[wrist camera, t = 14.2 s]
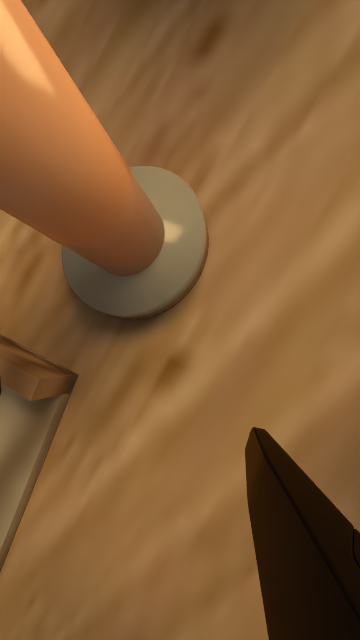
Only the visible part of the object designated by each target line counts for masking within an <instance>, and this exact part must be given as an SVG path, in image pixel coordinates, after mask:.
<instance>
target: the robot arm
mask: <svg viewBox="0 0 360 640" xmlns="http://www.w3.org/2000/svg"><path fill="white" fill-rule="evenodd" d="M0 395H1V376H0ZM245 461H246V481H247V499H248V508H249V515H250V521H251V528H252V534H253V540H254V547H255V553H256V560H257V566H258V573H259V579H260V586H261V592H262V599H263V605H264V611H265V618H266V624H267V631H268V637H269V640H360V533H359V531H358V530H357V529H354V527H353V525H352V524H351V523H350V522H349V521H348V520H347V518H346V517H345V516H344V515H343V514H342V513H341V512H340V511H339V510H338V509H337V508H336V506H335V505H334V504H333V503H332V502H331V501H330V500H329V499H328V498H327V497H326V496H325V494H324V493H323V492H322V491H321V490H320V489H319V488H318V487H317V486H316V485H315V484H314V482H313V481H312V480H311V479H310V478H309V477H308V476H307V475H306V474H305V473H304V472H303V470H302V469H301V468H300V467H299V466H298V465H297V464H296V463H295V462H294V461H293V459H292V458H291V457H290V456H289V455H288V454H287V453H286V452H285V451H284V450H283V449H282V447H281V446H280V445H279V444H278V443H277V442H276V441H275V440H274V439H273V438H272V437H271V435H270V434H269V433H268V432H267V431H266V430H264V429H261V428H256V427H253V428H252V429H251V431H250V435H249V438H248V441H247V444H246V448H245Z"/></svg>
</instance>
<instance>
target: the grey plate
mask: <svg viewBox="0 0 360 640" xmlns="http://www.w3.org/2000/svg"><path fill="white" fill-rule="evenodd" d="M130 170H131V171H132V173H133V175H134V176H135V178H136V179H137V181H138V182H139V184H140V185H141V187H142V188H143V190H144V192H145V193H146V195H147V196H148V198H149V199H150V201H151V202H152V204H153V205H154V207H155V208H156V210H157V212H158V213H159V215H160V216H161V218H162V221H163V224H164V229H165V236H164V242H163V246H162V249H161V251H160V253H159V255H158V256H157V258H156V259H155V260H154V262H153V263H152V264H151V265H150V266H149V267H147V268H146V269H145V270H143V271H141V272H139V273H137V274H134V275H131V276H116V275H113V274H111V273H108V272H107V271H105V270H103V269H102V268H100V267H98V266H97V265H95V264H93V263H91V262H90V261H88V260H86V259H85V258H83V257H81V256H79V255H78V254H76V253H74V252H73V251H71V250H69V249H67V248H66V247H64V246H62V263H63V269H64V273H65V276H66V278H67V281H68V283H69V285H70V287H71V288H72V290H73V291H74V293H75V294H76V295H77V296H78V297H79V298H80V299H81V300H82V301H83V302H84V303H85V304H87V305H88V306H90V307H91V308H93V309H96V310H98V311H100V312H103V313H107V314H110V315H114V316H117V317H121V318H127V319H141V318H147V317H151V316H154V315H157V314H160V313H162V312H164V311H166V310H168V309H169V308H171V307H173V306H174V305H176V304H177V303H178V302H179V301H181V300H182V299H183V298H184V297H185V296H186V295H187V294H188V293H189V292H190V290H191V289H192V288H193V286H194V285H195V284H196V282H197V280H198V278H199V277H200V275H201V273H202V270H203V268H204V265H205V262H206V258H207V254H208V247H209V236H208V228H207V224H206V221H205V218H204V215H203V212H202V209H201V206H200V203H199V201H198V199H197V196H196V195H195V193H194V192H193V190H192V189H191V187H190V186H189V185H188V184H187V183H186V182H185V181H184V180H183V179H181V178H180V177H179V176H177V175H176V174H174V173H172V172H170V171H168V170H165V169H162V168H158V167H153V166H136V167H131V168H130Z"/></svg>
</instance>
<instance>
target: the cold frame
mask: <svg viewBox="0 0 360 640" xmlns="http://www.w3.org/2000/svg"><path fill="white" fill-rule="evenodd" d="M0 376H1V395H0V570H1V568H2V565H3V563H4V560H5V558H6V555H7V553H8V550H9V548H10V545H11V543H12V540H13V538H14V535H15V533H16V530H17V528H18V525H19V522H20V520H21V517H22V515H23V512H24V510H25V507H26V505H27V502H28V500H29V497H30V495H31V492H32V490H33V487H34V485H35V482H36V480H37V477H38V475H39V472H40V470H41V467H42V465H43V462H44V460H45V457H46V454H47V452H48V449H49V447H50V444H51V442H52V439H53V437H54V434H55V432H56V429H57V427H58V424H59V422H60V419H61V417H62V414H63V412H64V409H65V407H66V404H67V402H68V399H69V397H70V394H71V391H72V389H73V386H74V384H75V381H76V379H77V376H78V375H77V374H75V373H73V372H72V371H70V370H68V369H66V368H64V367H62V366H60V365H58V364H56V363H54V362H52V361H50V360H49V359H47V358H45V357H43V356H41V355H39V354H37V353H35V352H33V351H31V350H29V349H27V348H25V347H24V346H22V345H20V344H18V343H16V342H14V341H12V340H10V339H8V338H6V337H4V336H2V335H0Z"/></svg>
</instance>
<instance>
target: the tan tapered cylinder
mask: <svg viewBox="0 0 360 640" xmlns="http://www.w3.org/2000/svg"><path fill="white" fill-rule="evenodd" d="M0 209H1V210H3V211H4V212H6V213H8V214H9V215H11V216H13V217H15V218H16V219H18V220H20V221H21V222H23V223H25V224H27V225H28V226H30V227H32V228H33V229H35V230H37V231H38V232H40V233H42V234H44V235H45V236H47V237H49V238H50V239H52V240H54V241H56V242H57V243H59V244H61V245H62V246H64V247H66V248H67V249H69V250H71V251H73V252H74V253H76V254H78V255H79V256H81V257H83V258H85V259H86V260H88V261H90V262H91V263H93V264H95V265H97V266H98V267H100V268H102V269H103V270H105V271H107V272H108V273H111V274H113V275H116V276H131V275H134V274H137V273H139V272H141V271H143V270H145V269H146V268H147V267H149V266H150V265H151V264H152V263H153V262H154V260H155V259H156V258H157V256H158V255H159V253H160V251H161V249H162V246H163V242H164V236H165V229H164V224H163V221H162V218H161V216H160V215H159V213H158V212H157V210H156V208H155V207H154V205H153V204H152V202H151V201H150V199H149V198H148V196H147V195H146V193H145V192H144V190H143V188H142V187H141V185H140V184H139V182H138V181H137V179H136V178H135V176H134V175H133V173H132V171H131V170H130V168H129V167H128V165H127V164H126V162H125V161H124V159H123V158H122V156H121V154H120V153H119V151H118V150H117V148H116V147H115V145H114V144H113V142H112V141H111V139H110V137H109V136H108V134H107V133H106V131H105V130H104V128H103V127H102V125H101V124H100V122H99V120H98V119H97V117H96V116H95V114H94V113H93V111H92V110H91V108H90V107H89V105H88V103H87V102H86V100H85V99H84V97H83V96H82V94H81V93H80V91H79V90H78V88H77V86H76V85H75V83H74V82H73V80H72V79H71V77H70V76H69V74H68V73H67V71H66V70H65V68H64V66H63V65H62V63H61V62H60V60H59V59H58V57H57V56H56V54H55V53H54V51H53V49H52V48H51V46H50V45H49V43H48V42H47V40H46V39H45V37H44V36H43V34H42V32H41V31H40V29H39V28H38V26H37V25H36V23H35V22H34V20H33V19H32V17H31V15H30V14H29V12H28V11H27V9H26V8H25V6H24V5H23V3H22V2H21V0H0Z"/></svg>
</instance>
